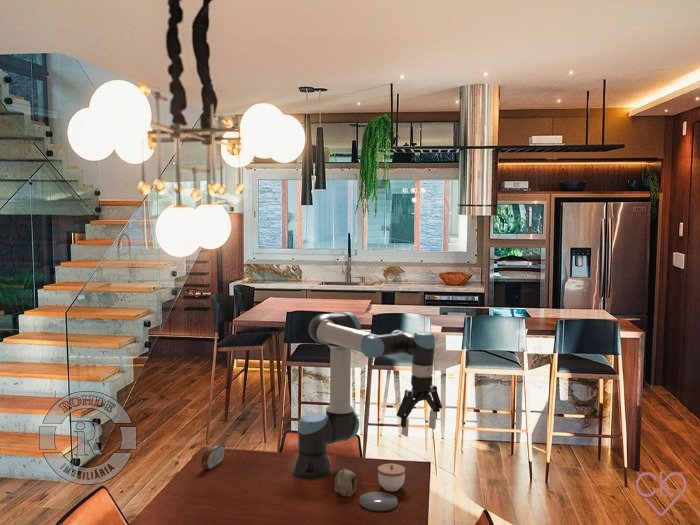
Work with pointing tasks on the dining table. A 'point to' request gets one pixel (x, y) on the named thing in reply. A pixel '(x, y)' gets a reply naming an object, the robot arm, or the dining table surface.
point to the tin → (213, 456)
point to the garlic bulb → (345, 482)
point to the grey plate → (378, 501)
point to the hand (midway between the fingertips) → (418, 431)
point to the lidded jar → (391, 476)
